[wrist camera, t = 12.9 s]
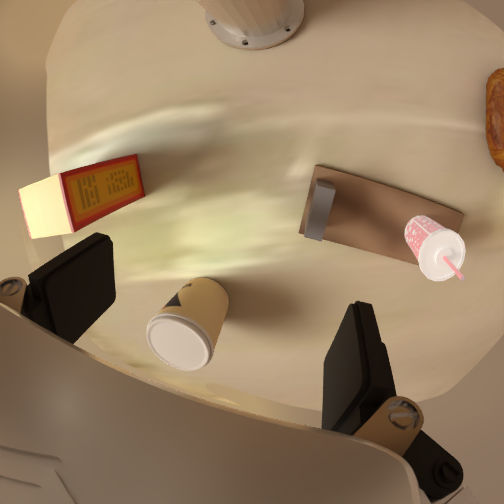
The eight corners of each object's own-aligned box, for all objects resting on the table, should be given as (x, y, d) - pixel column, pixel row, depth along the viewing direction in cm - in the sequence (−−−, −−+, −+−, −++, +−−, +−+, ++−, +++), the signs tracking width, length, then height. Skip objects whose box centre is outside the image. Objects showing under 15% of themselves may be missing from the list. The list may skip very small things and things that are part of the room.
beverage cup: (409, 258, 37) (447, 315, 24) (389, 224, 35) (427, 273, 23) (442, 234, 34) (492, 282, 22) (424, 199, 33) (476, 236, 20)
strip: (315, 164, 34) (316, 170, 29) (461, 212, 32) (481, 226, 27) (299, 231, 38) (296, 247, 33) (439, 269, 36) (454, 289, 31)
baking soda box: (99, 204, 43) (28, 240, 28) (91, 166, 40) (15, 190, 26) (145, 196, 41) (72, 233, 26) (136, 153, 38) (57, 174, 24)
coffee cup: (191, 261, 43) (155, 303, 33) (245, 293, 44) (223, 345, 33) (171, 302, 48) (137, 347, 37) (218, 331, 48) (195, 382, 37)
